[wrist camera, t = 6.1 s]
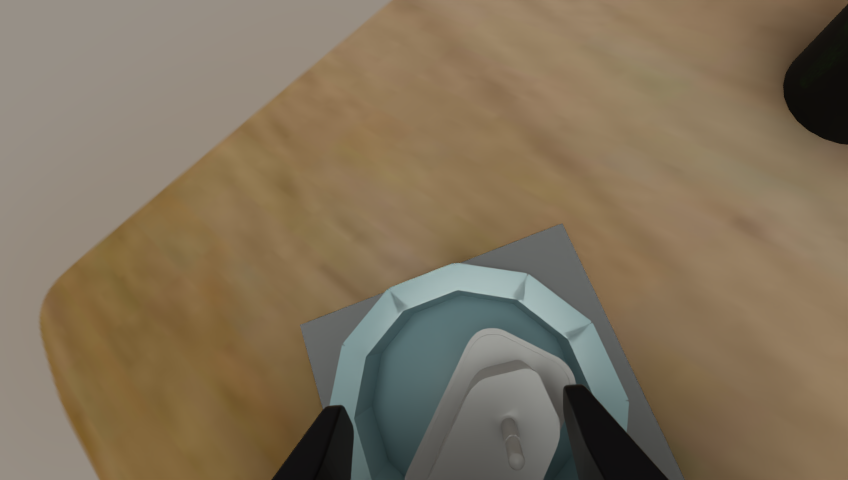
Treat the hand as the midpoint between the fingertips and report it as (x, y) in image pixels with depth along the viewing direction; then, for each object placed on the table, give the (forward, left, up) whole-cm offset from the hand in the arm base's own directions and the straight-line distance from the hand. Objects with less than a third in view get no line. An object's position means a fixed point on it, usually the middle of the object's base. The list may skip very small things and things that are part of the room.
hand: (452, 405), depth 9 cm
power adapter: (-1, 0, -9) cm, 10 cm away
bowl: (-1, 0, -10) cm, 10 cm away
